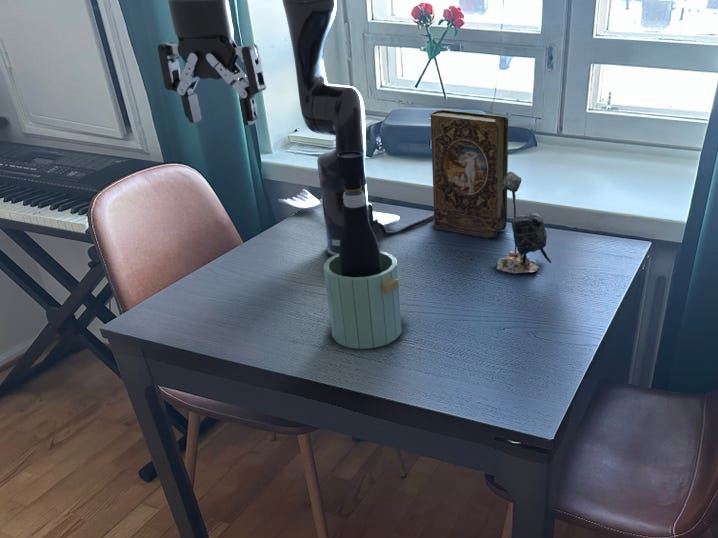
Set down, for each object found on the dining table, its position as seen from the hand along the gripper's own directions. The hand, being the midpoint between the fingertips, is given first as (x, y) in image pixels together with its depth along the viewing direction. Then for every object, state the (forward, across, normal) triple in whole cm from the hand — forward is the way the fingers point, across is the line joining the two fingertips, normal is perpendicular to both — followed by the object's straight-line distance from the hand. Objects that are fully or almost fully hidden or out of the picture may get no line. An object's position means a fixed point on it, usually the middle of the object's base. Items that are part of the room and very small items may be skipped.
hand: (222, 122), depth 100 cm
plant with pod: (+35, -39, -34) cm, 63 cm away
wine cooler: (+35, -17, -4) cm, 39 cm away
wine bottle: (+35, -17, -4) cm, 39 cm away
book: (+35, -24, -53) cm, 68 cm away
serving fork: (+35, +7, -54) cm, 65 cm away
